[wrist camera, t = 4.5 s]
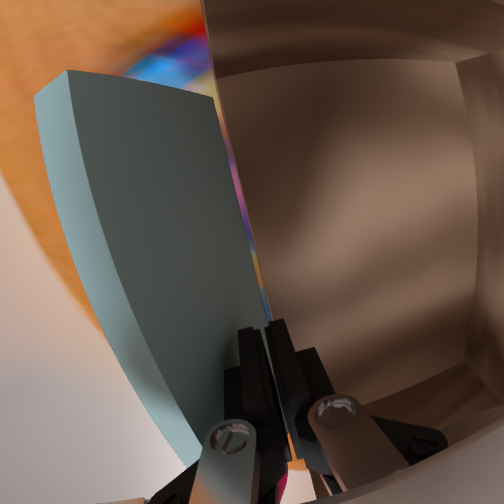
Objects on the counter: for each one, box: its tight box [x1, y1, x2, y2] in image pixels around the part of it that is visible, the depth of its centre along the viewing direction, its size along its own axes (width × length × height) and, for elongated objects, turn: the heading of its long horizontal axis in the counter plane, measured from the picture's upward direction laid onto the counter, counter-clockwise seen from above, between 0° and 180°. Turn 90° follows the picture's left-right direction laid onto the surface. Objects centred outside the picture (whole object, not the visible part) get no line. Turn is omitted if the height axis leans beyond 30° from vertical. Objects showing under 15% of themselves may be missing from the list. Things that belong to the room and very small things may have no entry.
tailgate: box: [34, 70, 289, 468], centre depth 11 cm, size 18×2×8 cm, turn 13°
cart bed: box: [200, 0, 504, 500], centre depth 13 cm, size 22×14×13 cm, turn 13°
